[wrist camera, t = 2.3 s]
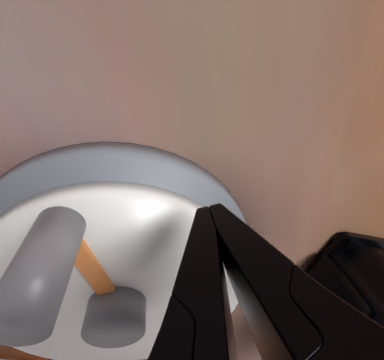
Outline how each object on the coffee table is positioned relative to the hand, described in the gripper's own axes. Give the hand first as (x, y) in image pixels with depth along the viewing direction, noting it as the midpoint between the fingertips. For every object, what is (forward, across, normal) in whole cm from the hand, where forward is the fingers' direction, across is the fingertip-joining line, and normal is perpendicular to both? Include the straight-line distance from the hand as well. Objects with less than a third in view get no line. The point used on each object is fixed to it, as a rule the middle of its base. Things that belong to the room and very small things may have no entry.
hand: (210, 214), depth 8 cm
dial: (+3, +6, +6) cm, 9 cm away
